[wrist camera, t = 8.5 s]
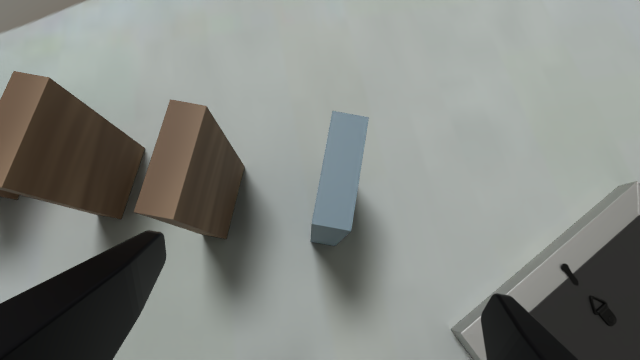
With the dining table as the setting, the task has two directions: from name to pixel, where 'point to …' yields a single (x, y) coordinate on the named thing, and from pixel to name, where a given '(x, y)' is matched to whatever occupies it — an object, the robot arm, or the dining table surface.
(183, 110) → the domino
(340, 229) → the domino
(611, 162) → the dining table surface
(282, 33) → the dining table surface
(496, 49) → the dining table surface
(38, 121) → the domino
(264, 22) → the dining table surface
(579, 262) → the picture frame
